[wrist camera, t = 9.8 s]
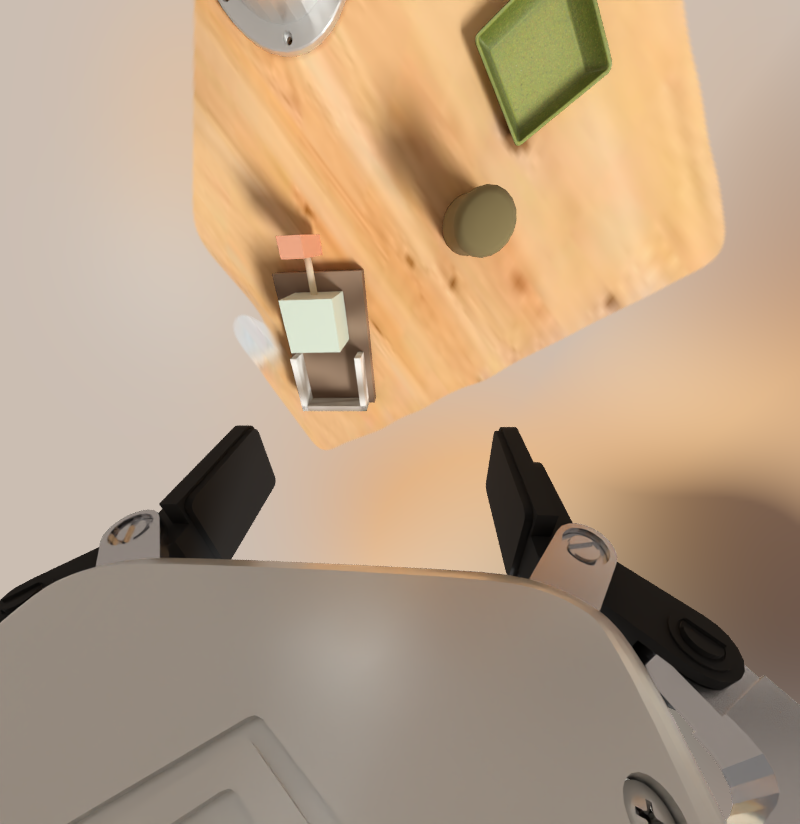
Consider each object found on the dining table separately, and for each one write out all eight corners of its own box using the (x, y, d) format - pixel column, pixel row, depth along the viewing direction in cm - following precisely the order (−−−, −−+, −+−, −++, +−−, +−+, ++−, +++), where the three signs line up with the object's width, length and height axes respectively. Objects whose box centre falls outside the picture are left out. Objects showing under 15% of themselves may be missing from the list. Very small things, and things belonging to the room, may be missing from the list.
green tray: (568, -50, 23) (580, -73, 21) (601, 79, 26) (614, 68, 25) (469, 50, 26) (473, 36, 24) (511, 153, 29) (516, 148, 28)
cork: (431, 235, 33) (434, 235, 24) (465, 178, 30) (484, 154, 21) (472, 266, 35) (490, 279, 25) (508, 215, 32) (544, 208, 23)
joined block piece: (283, 236, 33) (257, 236, 28) (334, 233, 32) (318, 233, 27) (305, 340, 39) (288, 356, 34) (349, 339, 39) (337, 355, 34)
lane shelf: (277, 272, 37) (262, 276, 33) (363, 269, 36) (357, 273, 32) (307, 397, 46) (297, 410, 43) (375, 397, 45) (371, 411, 42)
